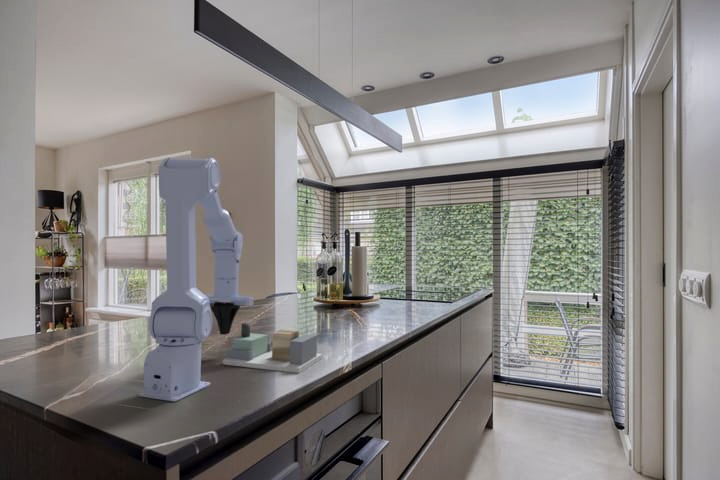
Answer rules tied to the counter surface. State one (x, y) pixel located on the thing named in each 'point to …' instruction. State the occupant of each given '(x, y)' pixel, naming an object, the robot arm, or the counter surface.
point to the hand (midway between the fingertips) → (224, 333)
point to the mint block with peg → (251, 341)
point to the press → (300, 359)
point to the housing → (282, 343)
